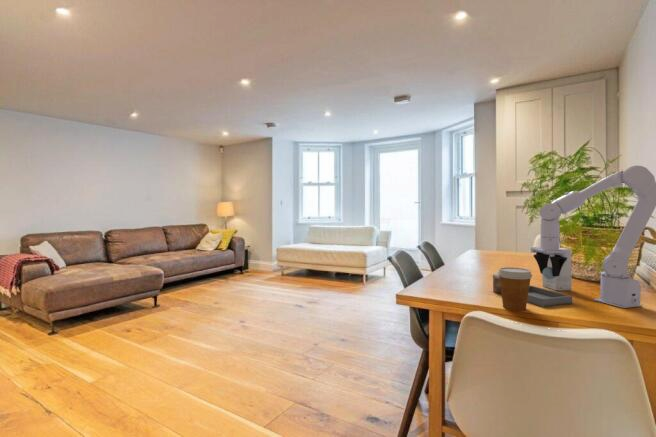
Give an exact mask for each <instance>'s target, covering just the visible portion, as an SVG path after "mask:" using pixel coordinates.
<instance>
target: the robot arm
mask: <svg viewBox="0 0 656 437" xmlns="http://www.w3.org/2000/svg"><path fill="white" fill-rule="evenodd" d="M624 184H625V185H626V186H627V187H628V188H630V189H631V190H632V192H633V193H634V194H635V196H636V197H637V198H638V199H637V202H636V204H635V205H634V207H633V209H632V212H631V214H630V215H629V217H628V220H627V222H626V223H625V226H624V227H623V230H622V231H621V232H620V235H619V237H618V239H617V242H616V243H615V246H613V249H612V250H611V252H610V253H609V254H607V255H606V256H605V257H604V259H603V260H602V264H601V267H602V270H603V271H601V272H600V296H599V298H598V297H597V298H593V301H596V302H599V303H604V304H607V305H611V306H614V307H618V308H622V309H627V308H635V307H642V306H643V304H641V292H642V291H641V290H642V289H641V288H642V286H641V284H640V282H639V280H637V279H634V278H631V275H630V274H628V270H629V260H630V258H631V255H632V254H633V251H634V249H635V247H636V245H637V243H638V241H639V239H640V238H641V235H642V234H643V232H644V230H645V228H646V227H647V224H648V222H649V220H650V219H651V217H652V214H653V213H654V211H655V209H656V179H655V175H654V174H653V173H652V172H651V171H650V170H649V169H648V167H645V166H642V165H633V166H630V167H628V168H626V169H625V170H620V171H617V172H615V173H613V174H610V175H608V176H606V177H604V178H602V179H601V180H599V181H597V182H595V183H593V184H591V185H589V186H588V187H586V188H584V189H582V190H580V191H574V190H572V191H570V192H569V191H565V192H564V193H563V194H564V195H562V196H560V197H558V198H556V199H555V200H554V199H551V200H550V202H551V203H550V202H549V203H548V202H547V203H545V204H544V205H541V207H540V208H539V211H538V212H539V216H540V234H539V236H540V244H539V245H540V247H536V246H535V247H530V253H532V254H533V258H534V259H535V261H536V263H537V266H538V268H539V272H540V274H541V275H542V274H543V273H542V272H543V270H544V268H546V267H547V265H548V260H549V257H550V260H551V264H552V274H553V276H554V277H556V276H559V275H560V271H561V268H562V266H563V264H564V263H565V261H566V260H567V257H571V258H572V251H571V252H569V251H564V250H559V248H560V218H559V217H560V216H561V214H562V215H566V214H568V213H569V212H571V211H574V210H575V209H578V208H580V207H582V206H584V203H585V201H586V200H587V199H589V198H591V197H593V196H595V195H598V194H600V193H602V192H604V191H606V190H608V189H611V188H620V187H623V185H624ZM545 252H548V253H545ZM552 253H553V254H552ZM550 255H554V256H550Z"/></svg>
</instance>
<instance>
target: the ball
mask: <svg viewBox="0 0 656 437" xmlns="http://www.w3.org/2000/svg"><path fill="white" fill-rule="evenodd" d="M542 273H543V276H544V277H545V278H547V279H554V278H555V277H554V276H553V274H552V267H546V268H544V270H543V272H542Z"/></svg>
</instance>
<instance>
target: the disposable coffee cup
mask: <svg viewBox="0 0 656 437" xmlns="http://www.w3.org/2000/svg"><path fill="white" fill-rule="evenodd" d="M497 274H498V275H499V278H500V286H501V294H500V295H501V300H502V307H503V308H504V309H506V310H510V311H514V312H515V311H517V312H518V311H519V312H520V311H521V312H523V311H526V310H527V305H528V304H527V303H528V302H527V298H528V292H529V286H530V285H531V279H532V277H533V274H532V272H531V270H530V269H527V268H522V267H511V266H510V267H509V266H508V267H506V266H505V267H500V268H499V269H498V272H497Z"/></svg>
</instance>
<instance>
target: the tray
mask: <svg viewBox="0 0 656 437" xmlns="http://www.w3.org/2000/svg"><path fill="white" fill-rule="evenodd" d="M528 302H529V303H528ZM527 303H528V304H533V305H535V306H537V307H541V308H547V307H556V306H565V305H573V295H568V294H565V293H562V292H558V291H555V290H551V289H550V290H549V289H547V288H541V287H539V286H535V285H531V284H530V285H529V292H528V298H527Z"/></svg>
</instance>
